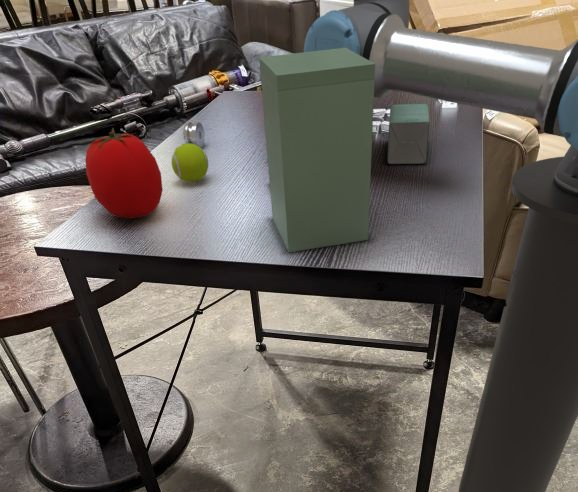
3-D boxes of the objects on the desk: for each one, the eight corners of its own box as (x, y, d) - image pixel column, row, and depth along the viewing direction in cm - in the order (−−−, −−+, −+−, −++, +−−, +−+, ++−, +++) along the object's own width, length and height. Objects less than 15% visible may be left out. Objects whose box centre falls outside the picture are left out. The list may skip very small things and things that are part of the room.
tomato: (152, 232, 84) (130, 145, 75) (85, 227, 87) (57, 143, 78) (182, 202, 92) (166, 121, 83) (120, 199, 95) (98, 120, 86)
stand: (368, 240, 77) (375, 63, 62) (288, 252, 76) (276, 75, 61) (344, 208, 86) (345, 47, 71) (272, 219, 84) (258, 57, 70)
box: (424, 141, 108) (428, 101, 104) (426, 164, 99) (430, 121, 94) (388, 141, 110) (390, 102, 105) (386, 165, 100) (389, 122, 95)
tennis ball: (171, 179, 101) (163, 143, 96) (204, 172, 103) (198, 136, 98) (181, 190, 96) (174, 152, 92) (216, 182, 98) (210, 145, 94)
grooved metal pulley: (197, 151, 113) (193, 126, 109) (185, 150, 113) (180, 126, 110) (206, 143, 116) (202, 119, 113) (193, 143, 117) (189, 119, 114)
